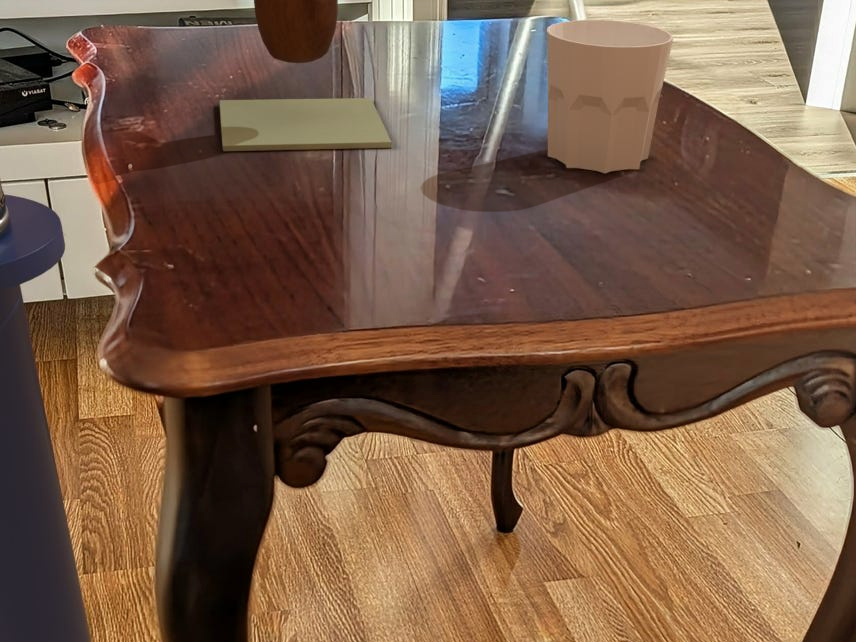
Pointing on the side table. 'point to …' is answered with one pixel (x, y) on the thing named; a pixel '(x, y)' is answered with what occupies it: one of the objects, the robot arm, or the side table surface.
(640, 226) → the side table surface
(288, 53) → the wooden figurine
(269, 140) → the mat
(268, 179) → the side table surface
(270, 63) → the side table surface
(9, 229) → the robot arm
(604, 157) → the cup
